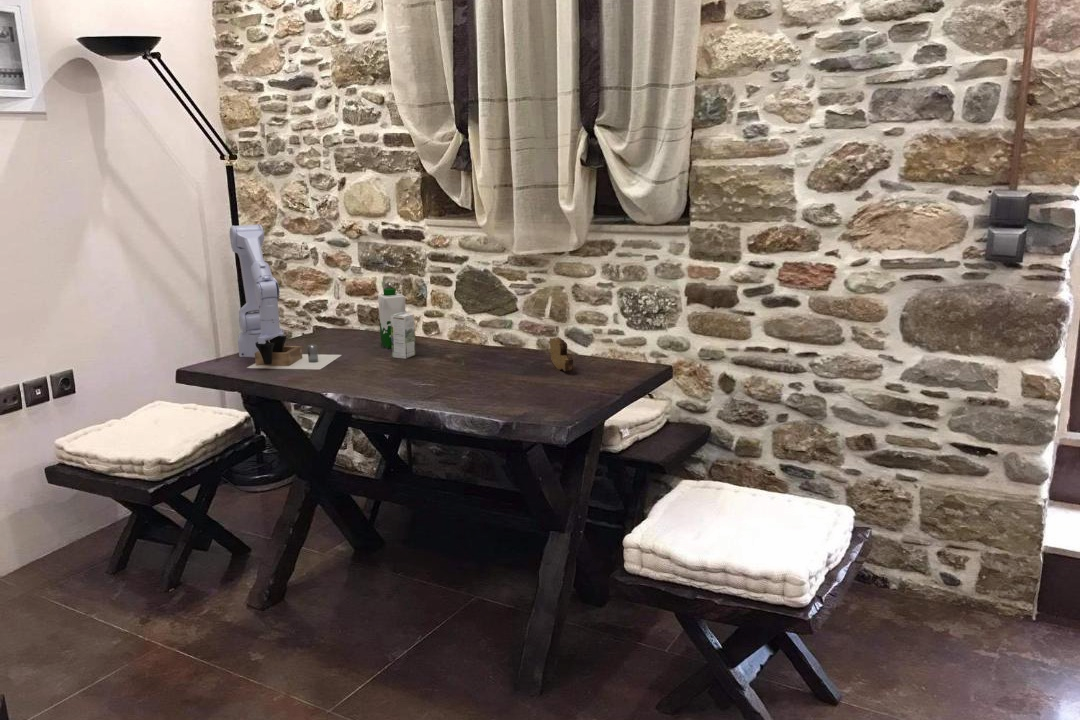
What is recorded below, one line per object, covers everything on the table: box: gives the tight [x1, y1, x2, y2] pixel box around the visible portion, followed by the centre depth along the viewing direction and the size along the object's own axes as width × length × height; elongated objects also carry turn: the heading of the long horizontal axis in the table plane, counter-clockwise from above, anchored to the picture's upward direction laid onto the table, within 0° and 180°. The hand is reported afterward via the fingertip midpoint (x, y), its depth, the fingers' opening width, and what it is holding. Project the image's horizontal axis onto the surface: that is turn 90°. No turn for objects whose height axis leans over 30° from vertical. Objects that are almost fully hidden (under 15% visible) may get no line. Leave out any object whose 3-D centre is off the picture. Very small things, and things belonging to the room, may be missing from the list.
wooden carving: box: [548, 336, 574, 372], centre depth 273 cm, size 16×5×10 cm, turn 23°
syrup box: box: [391, 312, 416, 359], centre depth 291 cm, size 6×6×14 cm
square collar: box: [254, 345, 303, 366], centre depth 282 cm, size 11×11×4 cm
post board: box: [246, 344, 342, 370], centre depth 283 cm, size 24×20×6 cm
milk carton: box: [377, 287, 407, 350], centre depth 307 cm, size 9×9×20 cm
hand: (273, 361), depth 278 cm, fingers open, 7 cm apart
